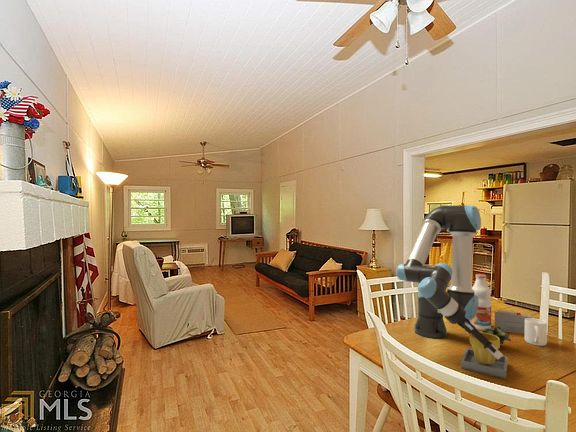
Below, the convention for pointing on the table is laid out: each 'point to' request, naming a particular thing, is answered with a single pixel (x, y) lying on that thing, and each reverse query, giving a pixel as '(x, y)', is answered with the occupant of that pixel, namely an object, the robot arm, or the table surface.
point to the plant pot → (480, 352)
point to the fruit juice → (482, 303)
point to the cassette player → (511, 321)
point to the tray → (484, 365)
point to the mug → (535, 331)
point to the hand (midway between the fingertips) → (492, 350)
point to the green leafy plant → (497, 333)
